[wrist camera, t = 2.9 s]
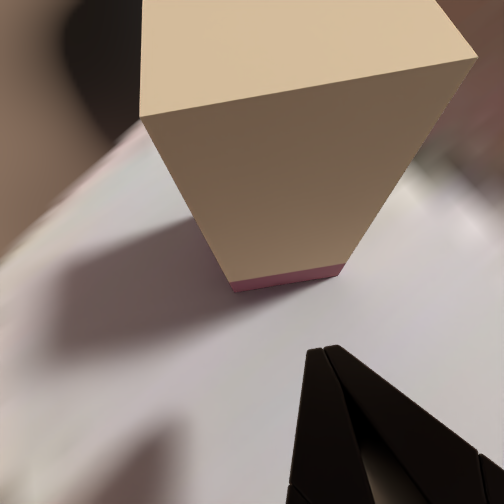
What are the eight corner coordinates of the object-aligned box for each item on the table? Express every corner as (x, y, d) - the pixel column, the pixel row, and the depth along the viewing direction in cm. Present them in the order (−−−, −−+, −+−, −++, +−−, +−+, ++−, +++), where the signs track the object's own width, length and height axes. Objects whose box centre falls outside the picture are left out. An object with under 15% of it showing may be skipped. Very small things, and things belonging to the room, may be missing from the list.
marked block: (337, 275, 16) (478, 56, 5) (234, 292, 16) (138, 116, 5) (313, 190, 18) (369, -86, 7) (223, 205, 18) (143, -44, 7)
